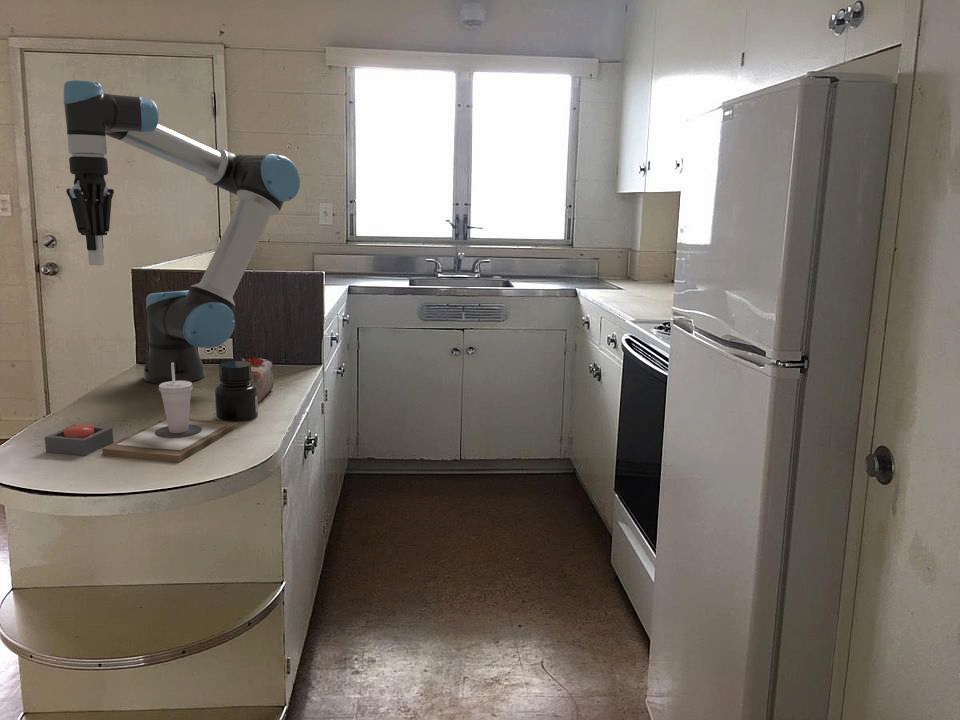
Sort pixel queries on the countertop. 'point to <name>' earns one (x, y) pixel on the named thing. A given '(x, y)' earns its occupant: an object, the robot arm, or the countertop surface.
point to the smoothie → (176, 403)
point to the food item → (261, 376)
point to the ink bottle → (236, 392)
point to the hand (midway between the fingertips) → (96, 264)
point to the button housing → (79, 442)
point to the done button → (79, 431)
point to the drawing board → (169, 440)
